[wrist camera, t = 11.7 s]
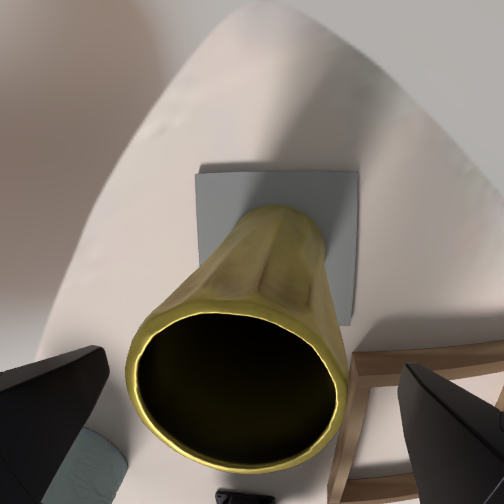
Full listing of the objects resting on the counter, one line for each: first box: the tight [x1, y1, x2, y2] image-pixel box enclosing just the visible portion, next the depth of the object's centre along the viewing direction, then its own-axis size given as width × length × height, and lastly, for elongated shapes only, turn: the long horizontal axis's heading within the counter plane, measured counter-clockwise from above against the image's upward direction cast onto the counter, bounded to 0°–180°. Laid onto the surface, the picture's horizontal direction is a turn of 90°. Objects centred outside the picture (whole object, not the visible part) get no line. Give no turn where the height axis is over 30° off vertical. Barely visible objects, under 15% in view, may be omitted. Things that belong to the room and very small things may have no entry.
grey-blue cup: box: [40, 428, 128, 504], centre depth 24 cm, size 10×10×12 cm
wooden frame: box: [327, 340, 504, 504], centre depth 21 cm, size 17×17×3 cm
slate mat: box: [195, 171, 357, 326], centre depth 21 cm, size 10×10×1 cm
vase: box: [125, 205, 349, 474], centre depth 13 cm, size 6×6×14 cm
